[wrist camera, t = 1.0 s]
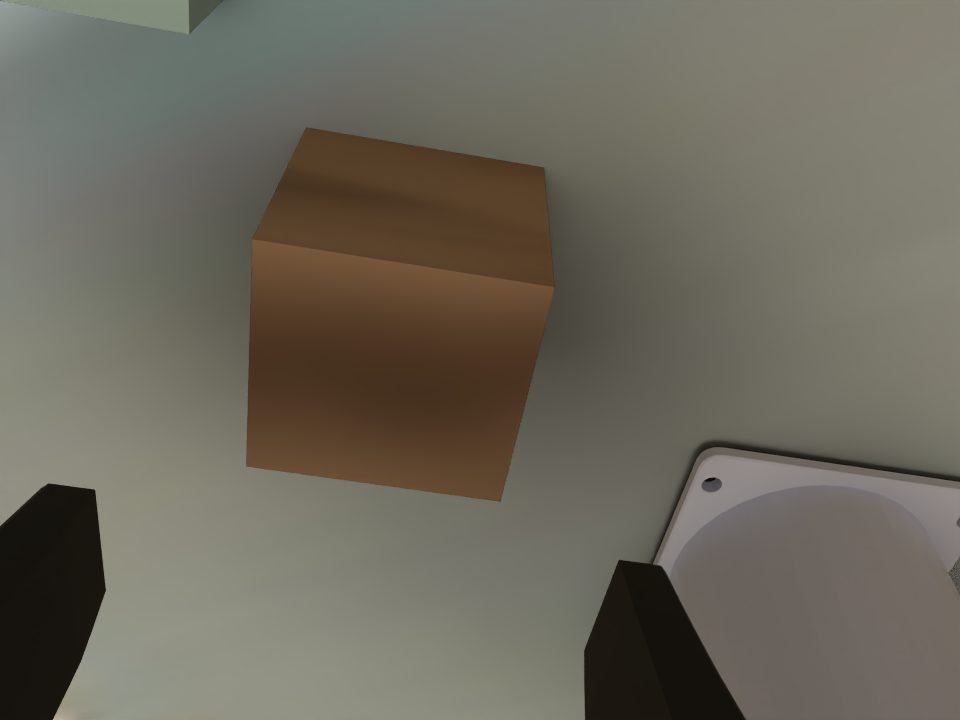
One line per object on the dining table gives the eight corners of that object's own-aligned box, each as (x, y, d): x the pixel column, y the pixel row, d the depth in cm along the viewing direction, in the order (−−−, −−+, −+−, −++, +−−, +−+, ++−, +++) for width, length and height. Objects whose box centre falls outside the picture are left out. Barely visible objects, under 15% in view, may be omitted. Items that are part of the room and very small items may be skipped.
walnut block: (500, 356, 22) (500, 501, 18) (294, 325, 22) (246, 466, 17) (543, 166, 19) (554, 287, 15) (307, 126, 19) (252, 239, 15)
